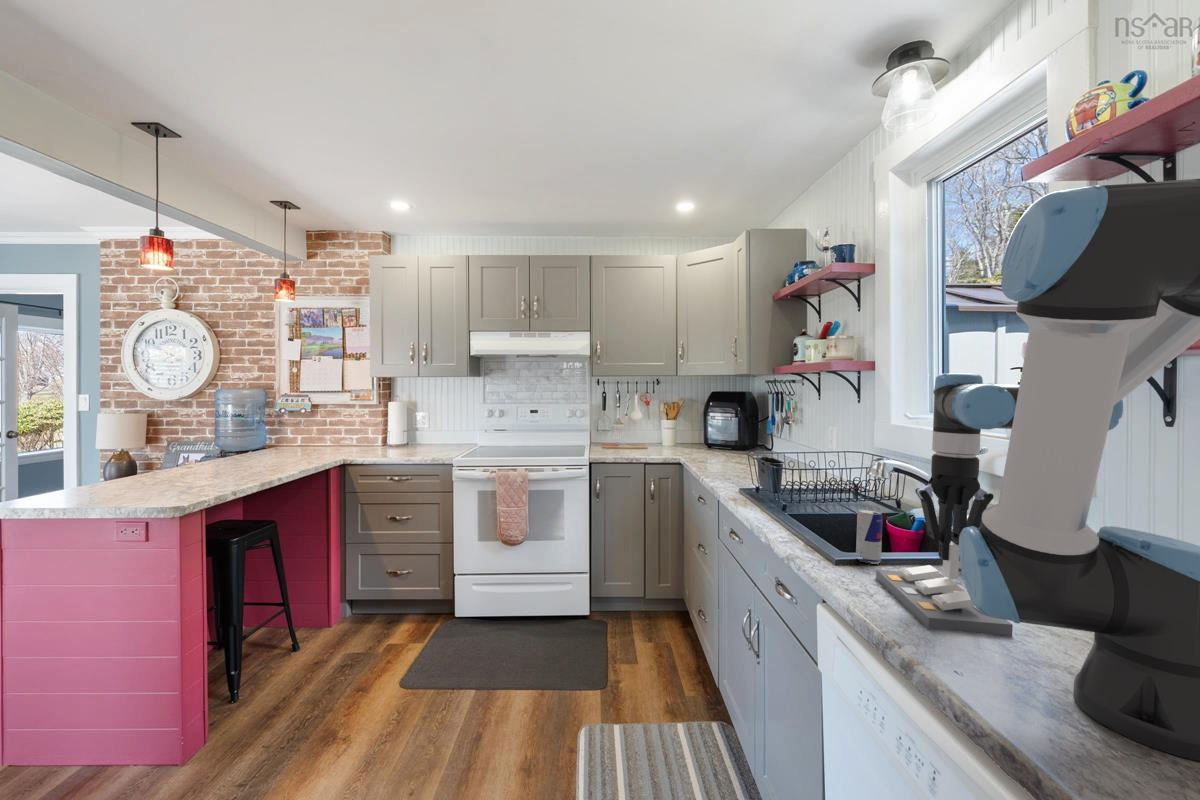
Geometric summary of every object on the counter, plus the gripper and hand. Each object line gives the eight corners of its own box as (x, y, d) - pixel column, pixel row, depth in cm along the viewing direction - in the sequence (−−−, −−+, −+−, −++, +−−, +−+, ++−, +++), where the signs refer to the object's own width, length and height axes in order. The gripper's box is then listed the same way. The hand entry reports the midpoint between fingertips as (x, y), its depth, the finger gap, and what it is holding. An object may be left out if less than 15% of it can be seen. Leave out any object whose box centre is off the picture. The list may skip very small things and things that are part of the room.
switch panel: (1012, 636, 87) (1012, 621, 87) (928, 629, 89) (928, 614, 89) (940, 583, 111) (941, 571, 111) (875, 578, 113) (876, 567, 113)
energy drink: (884, 566, 121) (885, 515, 121) (859, 564, 122) (861, 513, 122) (876, 558, 126) (878, 509, 126) (853, 556, 127) (854, 508, 127)
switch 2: (958, 590, 98) (956, 583, 98) (924, 594, 98) (922, 587, 98) (948, 583, 101) (947, 576, 101) (915, 587, 102) (914, 580, 102)
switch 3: (979, 605, 91) (977, 597, 91) (943, 610, 92) (941, 603, 92) (968, 597, 94) (966, 589, 94) (933, 602, 95) (931, 595, 95)
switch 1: (939, 576, 104) (938, 570, 104) (908, 581, 105) (906, 574, 105) (931, 570, 108) (929, 564, 108) (900, 574, 109) (899, 568, 109)
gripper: (981, 453, 101) (976, 572, 102) (909, 450, 103) (905, 567, 104) (1005, 458, 94) (999, 587, 95) (927, 455, 96) (922, 581, 97)
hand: (950, 576), depth 100 cm, fingers closed
